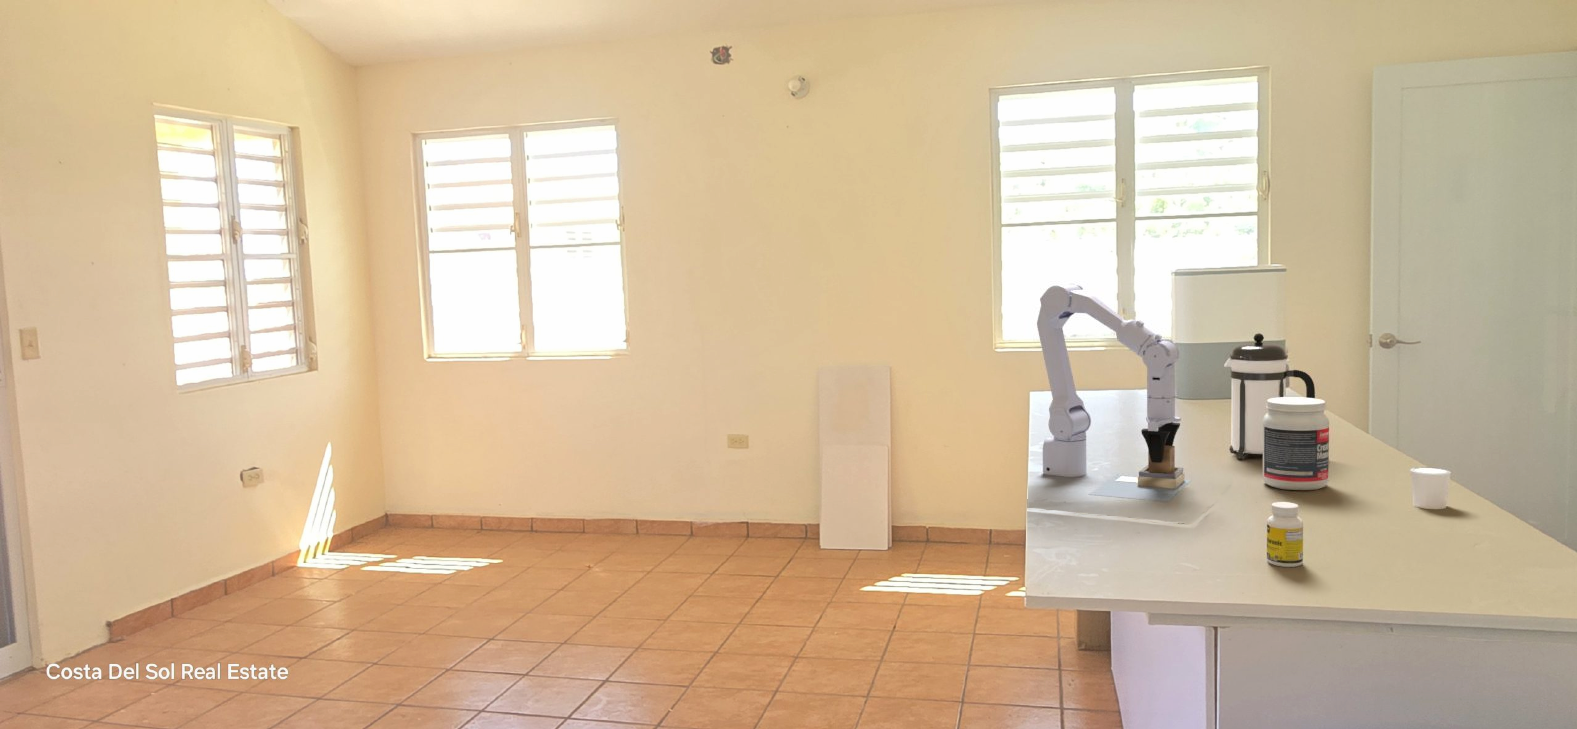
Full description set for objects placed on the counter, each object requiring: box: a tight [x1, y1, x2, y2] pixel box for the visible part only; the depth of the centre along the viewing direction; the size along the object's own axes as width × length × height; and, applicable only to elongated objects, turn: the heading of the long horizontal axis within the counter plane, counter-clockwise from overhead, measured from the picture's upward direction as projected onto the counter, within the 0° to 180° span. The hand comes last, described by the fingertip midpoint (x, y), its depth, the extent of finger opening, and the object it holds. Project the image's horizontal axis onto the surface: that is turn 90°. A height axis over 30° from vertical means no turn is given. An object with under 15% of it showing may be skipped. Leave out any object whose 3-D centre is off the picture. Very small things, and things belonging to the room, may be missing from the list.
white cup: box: [1409, 466, 1452, 510], centre depth 209 cm, size 7×7×7 cm
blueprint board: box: [1088, 464, 1192, 502], centre depth 230 cm, size 16×22×4 cm
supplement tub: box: [1262, 396, 1330, 491], centre depth 229 cm, size 13×13×18 cm
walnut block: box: [1147, 445, 1176, 473], centre depth 233 cm, size 4×4×6 cm
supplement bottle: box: [1266, 501, 1304, 568], centre depth 176 cm, size 5×5×10 cm
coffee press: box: [1223, 332, 1316, 461], centre depth 260 cm, size 17×16×30 cm
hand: (1160, 458), depth 233 cm, fingers open, 7 cm apart
